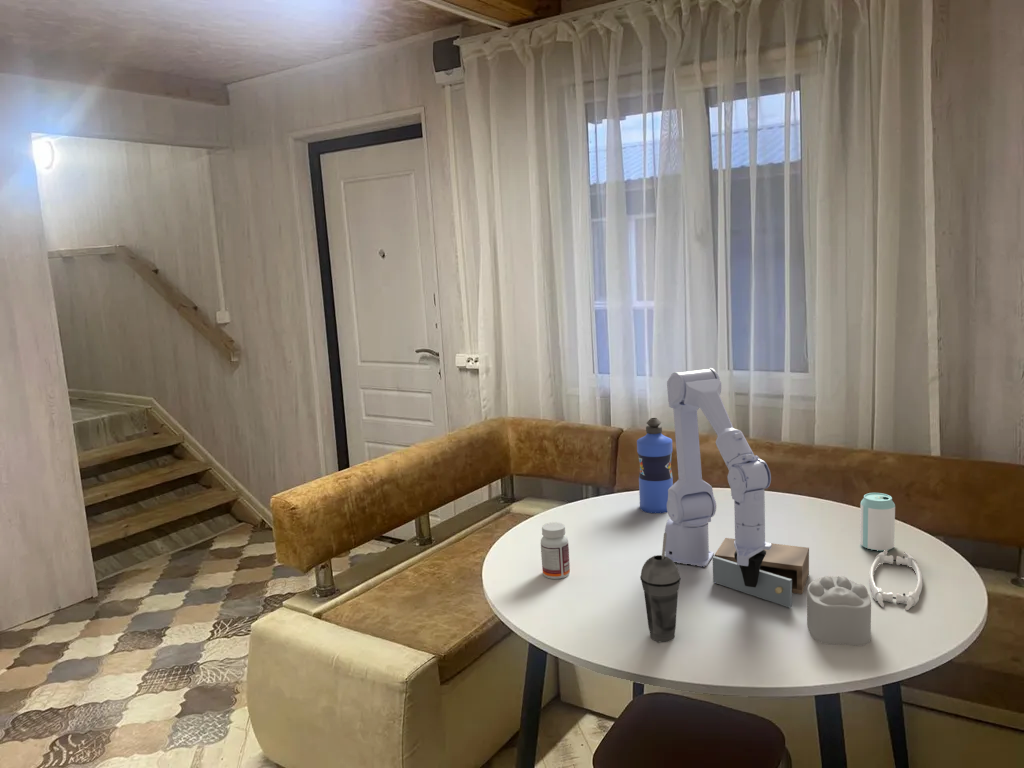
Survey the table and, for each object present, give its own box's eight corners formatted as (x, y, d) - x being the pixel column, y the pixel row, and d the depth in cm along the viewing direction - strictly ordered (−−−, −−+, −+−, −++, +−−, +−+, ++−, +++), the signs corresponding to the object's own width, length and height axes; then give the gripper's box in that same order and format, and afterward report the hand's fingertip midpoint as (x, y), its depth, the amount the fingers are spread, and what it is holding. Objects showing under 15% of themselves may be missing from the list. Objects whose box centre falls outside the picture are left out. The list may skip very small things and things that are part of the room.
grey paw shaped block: (811, 643, 138) (812, 598, 136) (802, 609, 150) (802, 567, 149) (875, 647, 135) (876, 600, 134) (860, 612, 148) (861, 569, 146)
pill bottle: (563, 566, 177) (560, 519, 175) (574, 576, 172) (571, 528, 170) (538, 571, 175) (535, 524, 173) (549, 582, 170) (546, 533, 168)
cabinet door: (710, 583, 163) (709, 558, 162) (715, 580, 164) (714, 556, 163) (787, 609, 150) (787, 582, 149) (791, 606, 151) (791, 579, 150)
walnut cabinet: (715, 581, 164) (714, 554, 163) (725, 563, 173) (725, 537, 172) (802, 594, 156) (802, 566, 155) (808, 574, 165) (809, 547, 164)
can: (877, 538, 181) (878, 489, 179) (901, 549, 174) (902, 498, 172) (853, 544, 179) (853, 494, 176) (876, 555, 172) (877, 503, 170)
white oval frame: (921, 563, 168) (923, 614, 146) (871, 557, 172) (866, 606, 150) (921, 551, 167) (924, 601, 145) (871, 546, 172) (866, 593, 150)
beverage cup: (638, 628, 147) (634, 528, 143) (675, 624, 148) (672, 524, 144) (648, 647, 140) (644, 543, 136) (687, 643, 140) (684, 539, 137)
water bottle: (639, 513, 207) (635, 423, 203) (639, 502, 216) (636, 415, 212) (674, 513, 206) (672, 422, 201) (673, 501, 215) (670, 414, 210)
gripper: (763, 536, 144) (764, 604, 146) (777, 511, 157) (778, 574, 159) (725, 532, 147) (726, 598, 150) (741, 507, 160) (743, 569, 162)
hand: (750, 586), depth 155 cm, fingers closed
